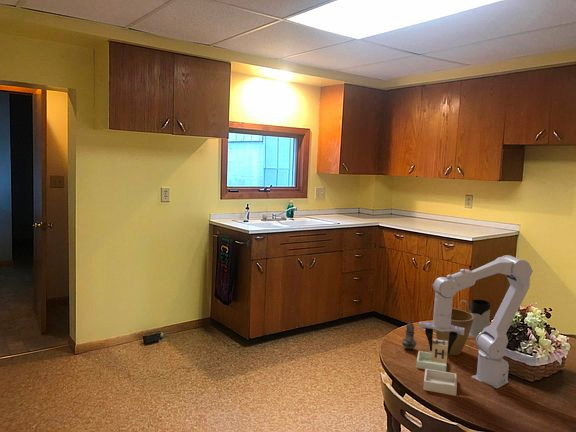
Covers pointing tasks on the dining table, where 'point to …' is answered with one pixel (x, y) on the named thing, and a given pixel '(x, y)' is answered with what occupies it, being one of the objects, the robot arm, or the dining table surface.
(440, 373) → the white tray
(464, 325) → the plant pot
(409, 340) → the salt shaker
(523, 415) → the dining table surface
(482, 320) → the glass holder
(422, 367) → the sage tray
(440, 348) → the letter block
